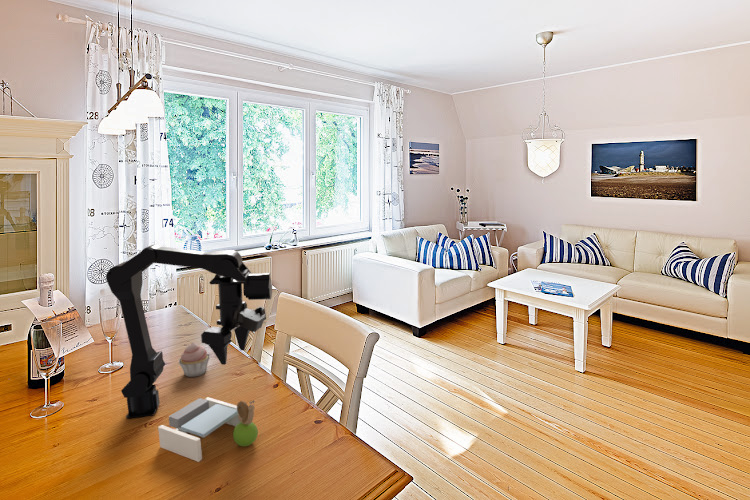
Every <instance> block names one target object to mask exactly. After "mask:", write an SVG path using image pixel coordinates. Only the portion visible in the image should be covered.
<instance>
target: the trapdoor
mask: <svg viewBox="0 0 750 500" xmlns="http://www.w3.org/2000/svg"><path fill="white" fill-rule="evenodd" d="M237 414H238V411H237V410H236V409H232V408H229V407H226V406H222V405H219V404H215V405H214V406H212V407H211V408H209V401H208V400H205V398H201V397H198V398H197V399H195V400H194V401H192V402H190V403H189V404H187V405H186V406H183V407H182V408H180V409H179V410H177V411H175V412H174V413H172V414H170V415H169V416H168V422H169V424H168V426H169V427H171V428H173V429H176V428H177V429H180V428H181V430H183V431H186V433H190V434H191V435H195V436H198V437H199V438H200V437H201V438H205V437H207V436H209V435H210V434H212V433H213V432H214V431H216V430H217V429H219V428H220V427H221V426H223V425H224V424H227V423H226V422H227V421H228V420H230V419H231V418H233V417H234V416H236V415H237Z"/></svg>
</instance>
